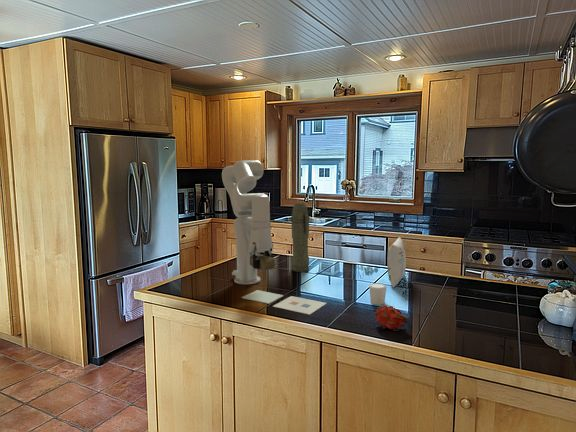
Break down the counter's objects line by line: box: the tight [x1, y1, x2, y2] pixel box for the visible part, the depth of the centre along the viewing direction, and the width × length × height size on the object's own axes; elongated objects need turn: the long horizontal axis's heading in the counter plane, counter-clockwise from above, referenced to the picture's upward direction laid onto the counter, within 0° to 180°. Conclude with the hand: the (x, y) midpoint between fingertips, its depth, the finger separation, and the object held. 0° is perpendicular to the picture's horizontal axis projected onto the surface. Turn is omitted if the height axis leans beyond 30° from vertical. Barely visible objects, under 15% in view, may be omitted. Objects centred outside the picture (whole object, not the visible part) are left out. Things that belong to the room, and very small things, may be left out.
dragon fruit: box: [374, 304, 409, 332], centre depth 143 cm, size 8×8×12 cm
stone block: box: [250, 253, 276, 271], centre depth 174 cm, size 6×12×5 cm, turn 41°
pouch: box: [386, 236, 407, 289], centre depth 194 cm, size 8×19×20 cm, turn 152°
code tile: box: [272, 295, 327, 316], centre depth 167 cm, size 17×14×1 cm
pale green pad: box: [241, 289, 284, 305], centre depth 177 cm, size 14×11×1 cm
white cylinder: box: [368, 282, 387, 305], centre depth 168 cm, size 7×7×7 cm
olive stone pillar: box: [290, 202, 310, 273], centre depth 216 cm, size 9×12×35 cm
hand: (262, 266), depth 175 cm, fingers closed on stone block, 7 cm apart
